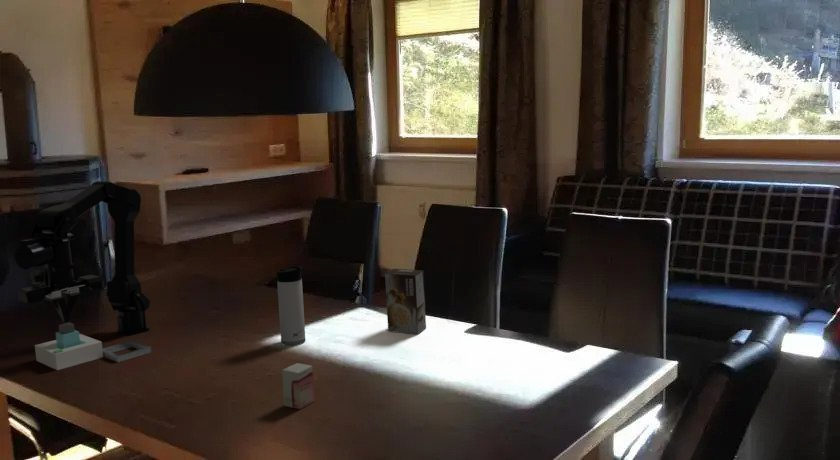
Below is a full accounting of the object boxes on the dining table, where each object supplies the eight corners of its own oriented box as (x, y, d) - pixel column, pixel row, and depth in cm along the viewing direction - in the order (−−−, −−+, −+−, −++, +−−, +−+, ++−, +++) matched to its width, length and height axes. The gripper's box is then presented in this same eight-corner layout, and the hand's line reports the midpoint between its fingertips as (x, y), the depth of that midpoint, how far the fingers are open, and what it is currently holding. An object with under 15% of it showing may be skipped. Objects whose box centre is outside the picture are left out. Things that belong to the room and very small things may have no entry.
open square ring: (133, 345, 202) (132, 340, 202) (151, 352, 196) (150, 346, 196) (99, 355, 195) (99, 349, 195) (117, 362, 190) (117, 356, 189)
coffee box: (427, 327, 210) (425, 270, 207) (418, 334, 204) (416, 275, 201) (396, 325, 213) (394, 268, 210) (386, 331, 207) (384, 273, 204)
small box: (300, 410, 157) (297, 373, 156) (283, 406, 159) (281, 369, 158) (315, 401, 161) (313, 365, 160) (299, 397, 163) (296, 362, 162)
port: (81, 348, 201) (80, 332, 201) (103, 357, 194) (101, 340, 193) (36, 360, 193) (34, 344, 192) (57, 370, 185) (55, 353, 185)
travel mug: (301, 346, 197) (297, 269, 194) (277, 345, 199) (272, 269, 195) (310, 338, 203) (305, 264, 200) (286, 337, 205) (281, 264, 201)
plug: (74, 355, 196) (70, 321, 195) (81, 358, 193) (78, 323, 192) (58, 359, 193) (54, 325, 192) (66, 362, 191) (61, 327, 189)
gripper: (80, 250, 201) (87, 308, 204) (5, 263, 187) (13, 325, 190) (101, 255, 194) (107, 315, 197) (24, 269, 180) (32, 333, 183)
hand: (65, 322), depth 192 cm, fingers closed
